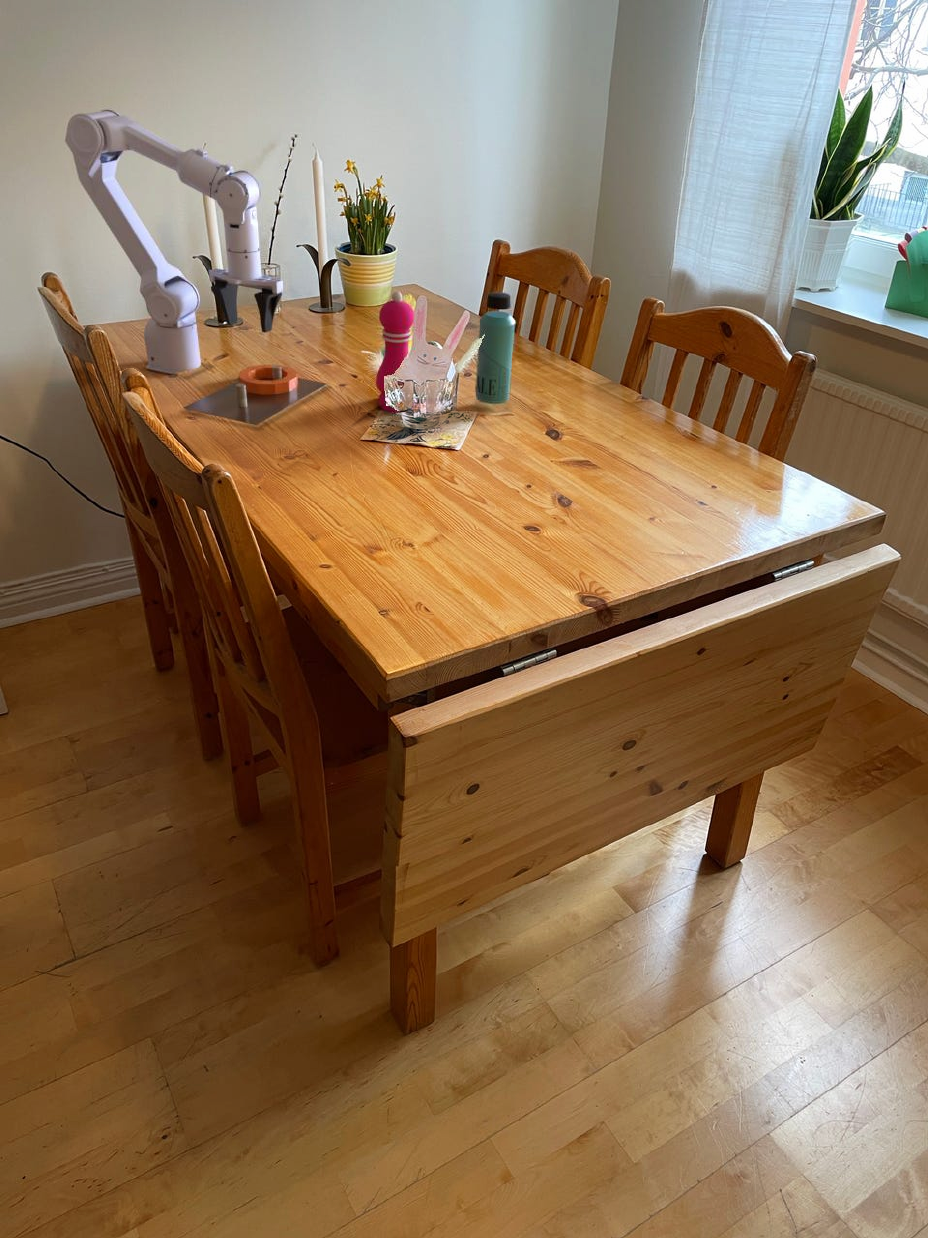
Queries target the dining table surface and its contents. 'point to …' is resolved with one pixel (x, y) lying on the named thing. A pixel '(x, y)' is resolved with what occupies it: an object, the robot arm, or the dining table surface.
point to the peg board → (253, 400)
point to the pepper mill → (394, 340)
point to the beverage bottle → (495, 351)
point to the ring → (268, 387)
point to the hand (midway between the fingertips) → (249, 327)
